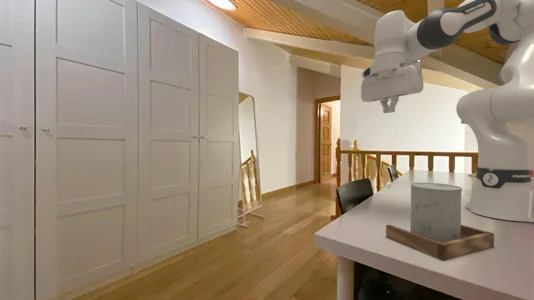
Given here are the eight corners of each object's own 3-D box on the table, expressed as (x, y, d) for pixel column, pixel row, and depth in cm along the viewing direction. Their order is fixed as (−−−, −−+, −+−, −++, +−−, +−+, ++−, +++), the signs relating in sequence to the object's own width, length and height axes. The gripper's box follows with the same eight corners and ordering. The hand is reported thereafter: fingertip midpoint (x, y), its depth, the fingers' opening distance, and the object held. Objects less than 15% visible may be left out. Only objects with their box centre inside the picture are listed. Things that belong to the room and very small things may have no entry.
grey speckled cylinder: (471, 250, 53) (472, 190, 52) (420, 247, 54) (421, 189, 54) (446, 234, 62) (447, 183, 62) (403, 232, 63) (404, 182, 63)
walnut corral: (433, 227, 67) (433, 217, 66) (493, 246, 55) (494, 233, 55) (385, 237, 60) (386, 225, 60) (443, 260, 48) (443, 245, 48)
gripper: (429, 58, 71) (428, 109, 71) (372, 76, 90) (371, 116, 90) (413, 55, 69) (412, 107, 69) (357, 74, 87) (357, 115, 88)
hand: (388, 112), depth 80 cm, fingers closed
